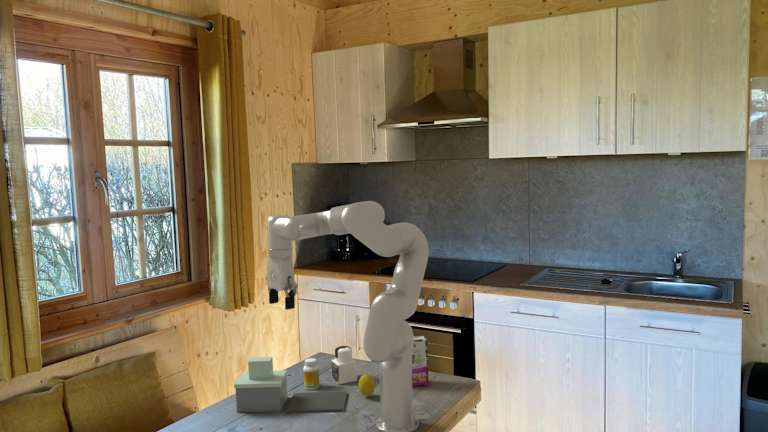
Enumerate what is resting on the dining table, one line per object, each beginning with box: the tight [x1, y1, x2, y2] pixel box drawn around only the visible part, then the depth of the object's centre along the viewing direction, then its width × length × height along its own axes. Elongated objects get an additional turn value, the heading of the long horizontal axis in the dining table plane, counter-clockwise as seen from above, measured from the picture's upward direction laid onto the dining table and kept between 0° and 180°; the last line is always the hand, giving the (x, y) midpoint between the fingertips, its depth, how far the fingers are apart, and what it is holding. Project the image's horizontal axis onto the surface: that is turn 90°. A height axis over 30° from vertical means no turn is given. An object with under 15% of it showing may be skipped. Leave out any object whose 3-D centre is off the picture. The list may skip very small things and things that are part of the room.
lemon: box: [358, 373, 376, 398], centre depth 191 cm, size 6×6×8 cm
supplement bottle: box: [302, 357, 320, 390], centre depth 202 cm, size 5×5×10 cm
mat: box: [285, 391, 348, 414], centre depth 188 cm, size 18×14×1 cm
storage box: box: [235, 376, 288, 413], centre depth 188 cm, size 14×11×8 cm
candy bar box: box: [412, 335, 429, 388], centre depth 200 cm, size 11×5×16 cm, turn 97°
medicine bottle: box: [331, 345, 358, 386], centre depth 207 cm, size 7×7×12 cm
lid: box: [233, 356, 288, 389], centre depth 187 cm, size 15×12×8 cm
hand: (281, 305), depth 186 cm, fingers open, 9 cm apart
